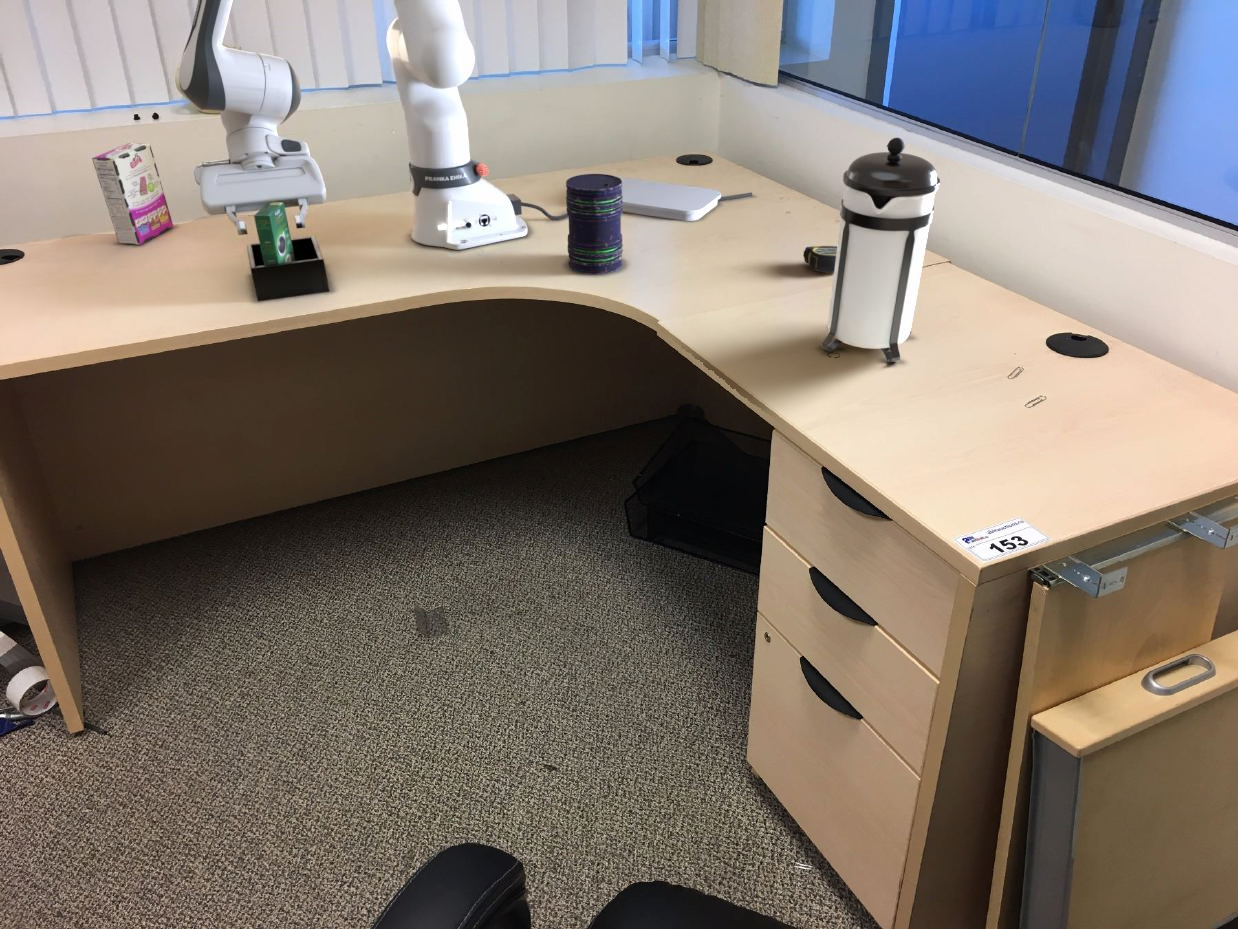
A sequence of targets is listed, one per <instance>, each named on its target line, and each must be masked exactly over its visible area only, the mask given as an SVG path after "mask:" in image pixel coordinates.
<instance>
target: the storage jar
mask: <svg viewBox="0 0 1238 929" xmlns="http://www.w3.org/2000/svg"><path fill="white" fill-rule="evenodd" d="M620 178H621V177H618V176H615V175H613V174H612V175H611V174H605V173H586V174H585V173H584V174H579V175H578V174H577V175H574V176H570V177H568V179H566V181H565V187H566V190H565V194H566V196H565V205H566V210H565V211H566V214H568V216H569V217H568V235H567V253H568V254H567V255H568V268H569V269H570V270H572V271H573V272H576V273H579V274H583V275H591V276H592V275H594V276H595V275H597V276H598V275H606V274H612V273H614V272H617V271H620V269H621V268H622V267H623V260H622V258H623V250H624V247H623V245H624V244H623V241H624V240H623V233H622V214H623V212H622V210H623V208H622V203H623V196H622V189H621V187H622V180H621V179H620Z"/></svg>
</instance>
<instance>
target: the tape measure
mask: <svg viewBox="0 0 1238 929" xmlns="http://www.w3.org/2000/svg"><path fill="white" fill-rule="evenodd" d="M837 246H838V245H837ZM837 246H836V245H819V246H818V245H817V246H815V245H814V246H806V247H805V249H804V250H803V259H804V262H805V264H807V265H808V267H809V269H811V270H813V271H815V272H821V273H825V274H834V269H835V261H836V254H837Z"/></svg>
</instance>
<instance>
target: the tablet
mask: <svg viewBox="0 0 1238 929" xmlns="http://www.w3.org/2000/svg"><path fill="white" fill-rule="evenodd" d="M619 178H620V179H621V180H622V187H621V189H622V196H623V203H622V208H623V210H622V213H630V214H636V215H643V216H651V217H656V218H663V219H669V220H670V219H671V220H677V221H684V222H693V221H694V222H695V221H697V220H700V219H701V218H702V217H704V216H705V215H706V214H707V213H709V212H711V210H713V209H714V208H715V207H717V206H718V202H719V201H718V199H720V198H721V197H722V191H720V190H717V189H713V188H706V187H699V186H691V185H683V184H675V183H668V182H662V181H653V180H646V179H639V178H630V177H619Z"/></svg>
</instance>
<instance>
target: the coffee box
mask: <svg viewBox="0 0 1238 929" xmlns="http://www.w3.org/2000/svg"><path fill="white" fill-rule="evenodd" d="M253 219H254V224H255V228H256V232H257V236H258V243H260V247H261V252H262V256H263V261H264V265H271V264H279V263H286V262H294V261H295V256H294V251H293V246H292V241H291V239H292V237H291V233H290V227H289V222H288V217H287V212H286V208H285V207H284V202H269V203H268V204H267V205H266V206H264V207H263V208H262V209H261V210H258V211H257V212H256V213H255V214H254V215H253Z"/></svg>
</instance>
